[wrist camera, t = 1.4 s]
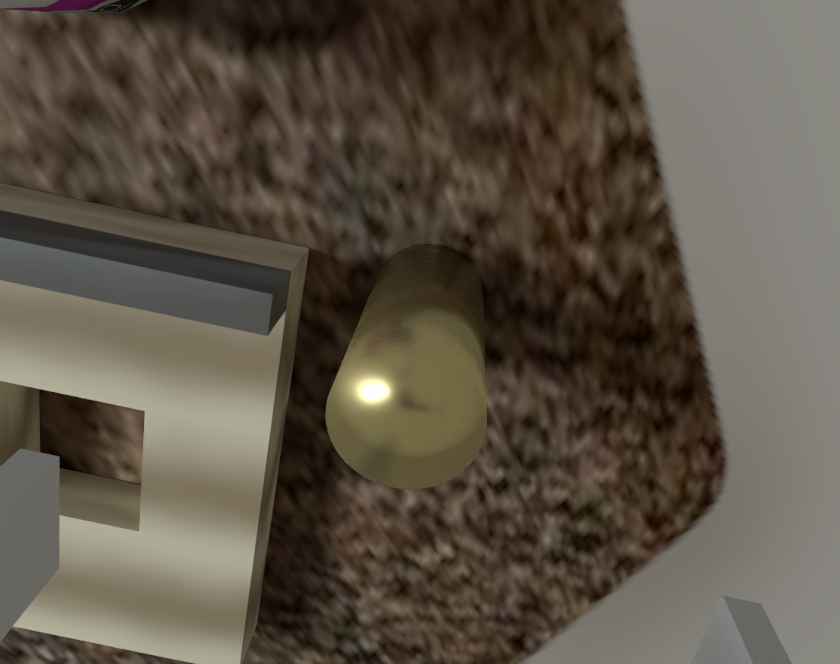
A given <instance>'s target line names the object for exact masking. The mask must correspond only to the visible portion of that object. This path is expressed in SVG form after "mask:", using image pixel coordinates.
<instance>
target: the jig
mask: <svg viewBox="0 0 840 664" xmlns="http://www.w3.org/2000/svg"><path fill="white" fill-rule="evenodd" d="M308 254H309V248H306V247H302V246H297V245H292V244H287V243H283V242H278V241H273V240H268V239H264V238H259V237H254V236H250V235H245V234H240V233H235V232H231V231H226V230H221V229H216V228H212V227H207V226H202V225H197V224H193V223H188V222H183V221H178V220H174V219H169V218H164V217H159V216H155V215H150V214H145V213H140V212H136V211H131V210H126V209H121V208H117V207H112V206H107V205H102V204H98V203H93V202H88V201H83V200H79V199H74V198H69V197H64V196H60V195H55V194H50V193H45V192H41V191H36V190H31V189H26V188H22V187H17V186H12V185H7V184H3V183H0V466H1V465H2V464H4V463H5V462H6V461H7V460H8V459H9V458H10V457H12V456H13V455H14V454H15V453H16V452H17V451H18V450H19V449H25V450H30V451H35V452H40V409H39V389H42V390H47V391H51V392H56V393H61V394H66V395H71V396H75V397H80V398H85V399H90V400H95V401H99V402H104V403H109V404H114V405H119V406H123V407H128V408H133V409H138V410H143V411H145V422H144V442H143V463H142V483H141V485H139V484H134V483H129V482H125V481H120V480H115V479H110V478H105V477H100V476H96V475H91V474H86V473H81V472H76V471H71V470H67V469H62V468H60V483H59V569H58V570H57V571H56V573H55V574H54V575H53V576H52V578H51V579H50V580H49V581H48V583H47V584H46V585H45V586H44V588H43V589H42V590H41V591H40V593H39V594H38V595H37V596H36V598H35V599H34V600H33V601H32V603H31V604H30V605H29V606H28V608H27V609H26V610H25V611H24V613H23V614H22V615H21V616H20V618H19V619H18V620H17V621H16V623H15V624H14V625H13V626H14V627H19V628H24V629H29V630H34V631H39V632H44V633H49V634H53V635H58V636H63V637H68V638H73V639H78V640H83V641H88V642H92V643H97V644H102V645H107V646H112V647H117V648H122V649H127V650H131V651H136V652H141V653H146V654H151V655H156V656H161V657H166V658H170V659H175V660H180V661H185V662H190V663H195V664H242V662H243V660H244V657H245V654H246V652H247V649H248V646H249V644H250V641H251V638H252V636H253V633H254V630H255V627H256V625H257V620H258V613H259V605H260V598H261V591H262V584H263V577H264V570H265V562H266V555H267V548H268V541H269V534H270V527H271V519H272V512H273V505H274V498H275V491H276V484H277V476H278V469H279V462H280V455H281V448H282V441H283V433H284V426H285V419H286V412H287V405H288V398H289V390H290V383H291V376H292V369H293V362H294V355H295V347H296V340H297V333H298V326H299V319H300V312H301V304H302V297H303V290H304V283H305V276H306V269H307V261H308Z"/></svg>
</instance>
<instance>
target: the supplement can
mask: <svg viewBox="0 0 840 664" xmlns="http://www.w3.org/2000/svg"><path fill="white" fill-rule="evenodd" d="M145 1H147V0H0V9H11V10H28V11H45V12H61V13H78V14H91V13H117V12H124V11H126V10H128V9H131V8H133V7H135V6H137V5H139V4H141V3H143V2H145Z"/></svg>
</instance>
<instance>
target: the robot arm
mask: <svg viewBox="0 0 840 664" xmlns="http://www.w3.org/2000/svg"><path fill="white" fill-rule="evenodd" d="M59 483H60V457H59V456H54V455H49V454H44V453H40V452H35V451H30V450H25V449H19V450H18V451H17V452H16V453H15V454H14V455H13V456H12V457H10V458H9V459H8V460H7V461H6V462H5V463H4V464H2V465H1V466H0V642H1V640H2V639H3V638H4V637H5V635H6V634H7V633H8V632H9V630H10V629H11V628H12V626H13V625H14V624H15V623H16V621H17V620H18V619H19V618H20V616H21V615H22V614H23V613H24V611H25V610H26V609H27V608H28V606H29V605H30V604H31V603H32V601H33V600H34V599H35V598H36V596H37V595H38V594H39V593H40V591H41V590H42V589H43V588H44V586H45V585H46V584H47V583H48V581H49V580H50V579H51V578H52V576H53V575H54V574H55V573H56V571H57V570H58V569H59ZM691 664H791V662H790V659H789V658H788V655H787V654H786V652H785V650H784V648H783V646H782V644H781V642H780V640H779V638H778V636H777V634H776V632H775V630H774V628H773V626H772V624H771V622H770V620H769V618H768V616H767V614H766V612H765V610H764V609H763V607H762V605H761V604H760V603H755V602H750V601H745V600H741V599H735V598H731V597H726V596H722V598H721V600H720V602H719V605H718V607H717V609H716V611H715V613H714V615H713V617H712V620H711V622H710V624H709V626H708V628H707V630H706V633H705V635H704V637H703V639H702V641H701V643H700V645H699V648H698V650H697V652H696V654H695V656H694V658H693V661H692V663H691Z"/></svg>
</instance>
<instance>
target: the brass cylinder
mask: <svg viewBox="0 0 840 664" xmlns="http://www.w3.org/2000/svg"><path fill="white" fill-rule="evenodd" d="M325 414H326V425H327V430H328V434H329V436H330V439H331V442H332V444H333V445H334V447H335V449H336V451H337V452H338V454H339V455H340V456H341V458H342V459H343V460H344V461H345V462H346V463H347V464H348V465H349V466H350V467H351V468H352V469H354V470H355V471H356V472H358V473H359V474H361V475H362V476H364V477H366V478H367V479H369V480H371V481H374V482H376V483H379V484H381V485H385V486H389V487H394V488H400V489H420V488H426V487H431V486H435V485H438V484H441V483H443V482H446V481H448V480H450V479H452V478H453V477H455V476H457V475H458V474H459V473H461V472H462V471H463V470H464V469H466V468H467V467H468V466H469V464H470V463H471V462H472V461H473V460H474V458H475V457H476V456H477V454H478V452H479V450H480V449H481V447H482V444H483V441H484V438H485V434H486V428H487V408H486V373H485V339H484V305H483V288H482V284H481V281H480V278H479V276H478V274H477V272H476V270H475V269H474V267H473V266H472V265H471V263H470V262H469V261H468V260H467V259H466V258H464V257H463V256H462V255H461V254H459V253H457V252H456V251H454V250H452V249H449V248H447V247H444V246H440V245H434V244H421V245H415V246H411V247H408V248H405V249H403V250H401V251H399V252H398V253H396V254H395V255H393V256H392V257H391V258H390V259H389V260H388V261H387V262H386V263H385V264H384V266H383V267H382V269H381V270H380V272H379V274H378V276H377V279H376V281H375V284H374V286H373V288H372V291H371V293H370V296H369V298H368V301H367V303H366V305H365V308H364V310H363V313H362V315H361V318H360V320H359V322H358V325H357V327H356V330H355V332H354V335H353V337H352V339H351V342H350V344H349V347H348V349H347V352H346V354H345V356H344V359H343V361H342V364H341V366H340V369H339V371H338V373H337V376H336V378H335V381H334V383H333V386H332V388H331V390H330V393H329V395H328V399H327V404H326V413H325Z"/></svg>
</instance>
